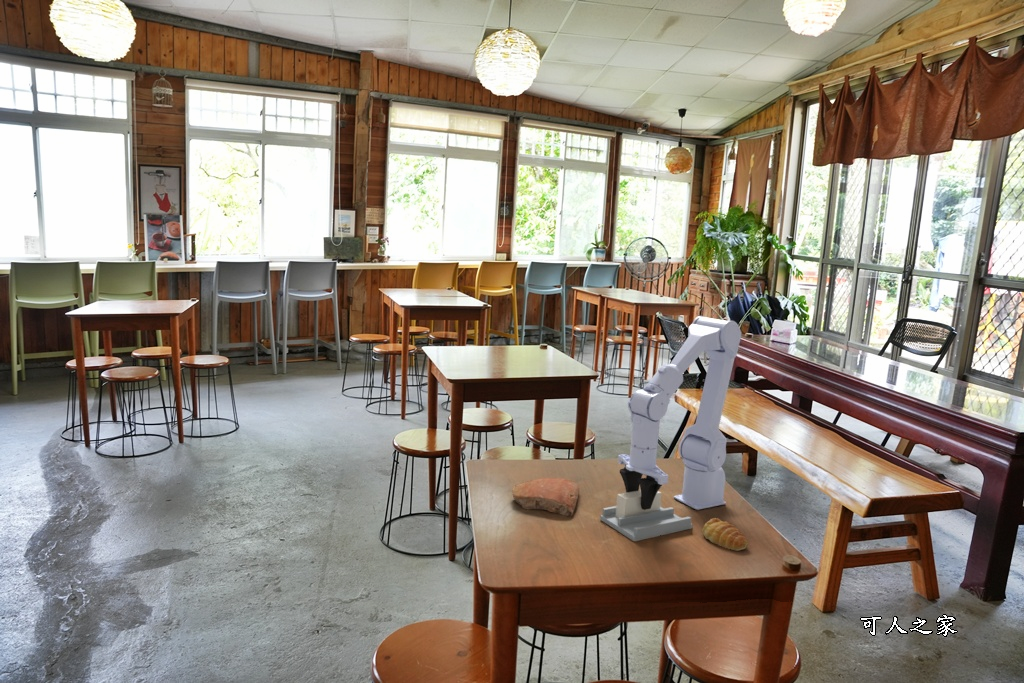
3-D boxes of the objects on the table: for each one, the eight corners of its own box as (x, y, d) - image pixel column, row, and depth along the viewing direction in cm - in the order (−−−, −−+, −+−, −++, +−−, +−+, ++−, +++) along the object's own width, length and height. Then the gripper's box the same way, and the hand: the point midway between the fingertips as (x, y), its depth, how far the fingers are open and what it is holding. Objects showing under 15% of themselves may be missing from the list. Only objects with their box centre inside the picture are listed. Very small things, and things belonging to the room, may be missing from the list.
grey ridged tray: (656, 508, 159) (657, 498, 159) (692, 528, 149) (693, 517, 149) (600, 519, 151) (600, 508, 151) (634, 541, 141) (635, 530, 141)
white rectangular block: (650, 509, 156) (652, 487, 155) (659, 514, 154) (661, 492, 153) (615, 516, 151) (617, 494, 150) (624, 521, 149) (625, 499, 148)
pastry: (755, 549, 141) (757, 531, 141) (732, 555, 138) (734, 537, 137) (719, 530, 149) (721, 514, 149) (697, 536, 146) (699, 519, 145)
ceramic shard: (522, 465, 168) (582, 481, 166) (516, 491, 169) (576, 507, 166) (511, 478, 154) (577, 496, 151) (505, 506, 154) (570, 524, 152)
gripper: (609, 437, 154) (604, 495, 156) (652, 457, 142) (646, 520, 144) (633, 434, 158) (629, 491, 160) (677, 453, 145) (672, 514, 147)
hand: (639, 504), depth 152 cm, fingers open, 4 cm apart
